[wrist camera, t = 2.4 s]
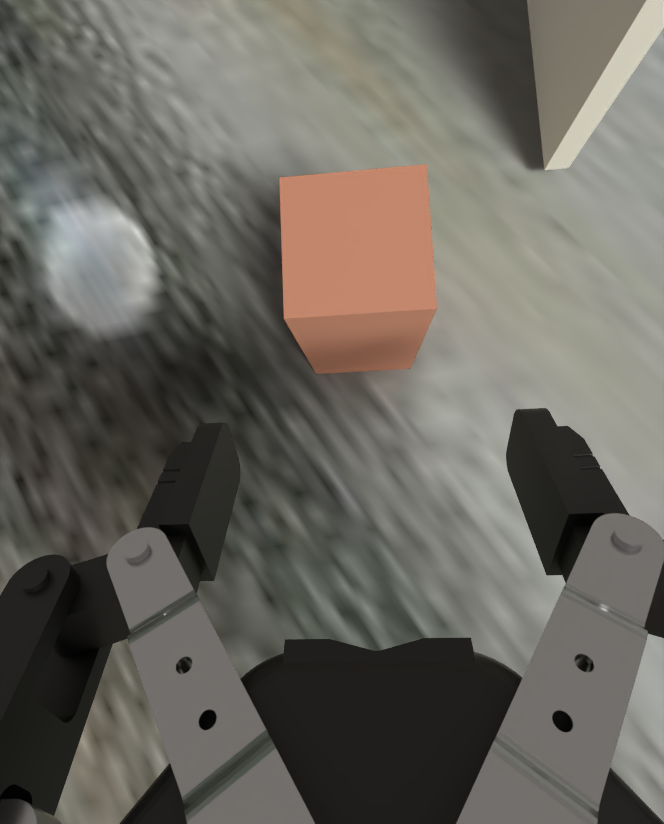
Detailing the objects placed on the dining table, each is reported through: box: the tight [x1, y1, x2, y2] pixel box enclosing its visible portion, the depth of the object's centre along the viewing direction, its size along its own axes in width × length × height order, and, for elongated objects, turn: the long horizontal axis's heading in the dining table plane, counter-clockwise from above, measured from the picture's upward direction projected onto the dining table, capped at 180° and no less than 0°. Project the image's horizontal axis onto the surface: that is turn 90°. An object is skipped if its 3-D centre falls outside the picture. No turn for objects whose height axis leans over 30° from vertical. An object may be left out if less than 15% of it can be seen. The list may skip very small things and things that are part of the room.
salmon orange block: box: [279, 164, 437, 374], centre depth 20 cm, size 5×5×10 cm
